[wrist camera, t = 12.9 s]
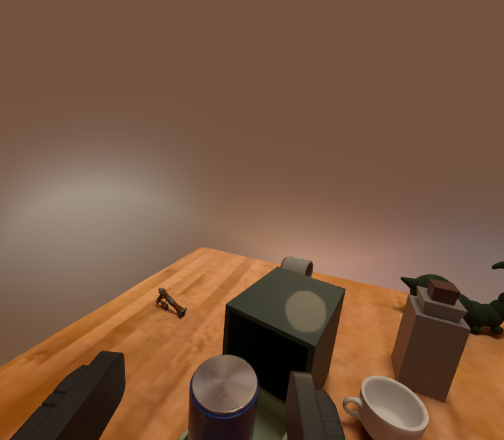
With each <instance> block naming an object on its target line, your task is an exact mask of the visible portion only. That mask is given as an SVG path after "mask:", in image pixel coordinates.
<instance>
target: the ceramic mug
mask: <svg viewBox="0 0 504 440" xmlns="http://www.w3.org/2000/svg"><path fill="white" fill-rule="evenodd" d="M280 267H281V268H284V269H287V270H290V271H293V272H296V273H299V274H302V275H305V276H308V277H312V272H313V263H312V261H309V260H304V259H299V258H295V257H286V258H284V260H283V261H282V263H281V266H280Z"/></svg>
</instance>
